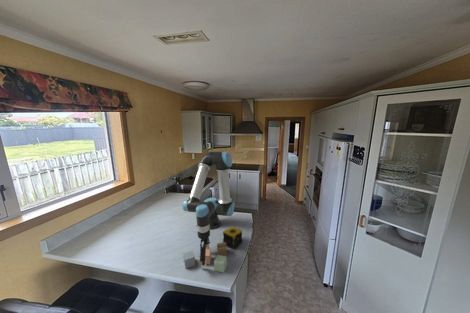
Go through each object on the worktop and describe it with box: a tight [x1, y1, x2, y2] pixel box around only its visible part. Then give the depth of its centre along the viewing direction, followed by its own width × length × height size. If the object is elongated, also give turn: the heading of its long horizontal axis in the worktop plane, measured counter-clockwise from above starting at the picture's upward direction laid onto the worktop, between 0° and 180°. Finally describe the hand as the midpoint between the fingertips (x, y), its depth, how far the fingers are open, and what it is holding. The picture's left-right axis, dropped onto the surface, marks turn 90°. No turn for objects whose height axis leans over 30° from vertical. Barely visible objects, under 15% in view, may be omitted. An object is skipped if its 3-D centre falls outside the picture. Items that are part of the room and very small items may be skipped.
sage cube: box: [213, 254, 228, 273], centre depth 107 cm, size 6×6×6 cm
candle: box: [222, 225, 243, 250], centre depth 129 cm, size 10×10×10 cm
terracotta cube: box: [199, 248, 212, 266], centre depth 113 cm, size 6×6×6 cm
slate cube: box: [182, 250, 196, 270], centre depth 112 cm, size 6×6×6 cm
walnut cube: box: [216, 242, 228, 257], centre depth 119 cm, size 6×6×6 cm
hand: (205, 260), depth 114 cm, fingers open, 12 cm apart
